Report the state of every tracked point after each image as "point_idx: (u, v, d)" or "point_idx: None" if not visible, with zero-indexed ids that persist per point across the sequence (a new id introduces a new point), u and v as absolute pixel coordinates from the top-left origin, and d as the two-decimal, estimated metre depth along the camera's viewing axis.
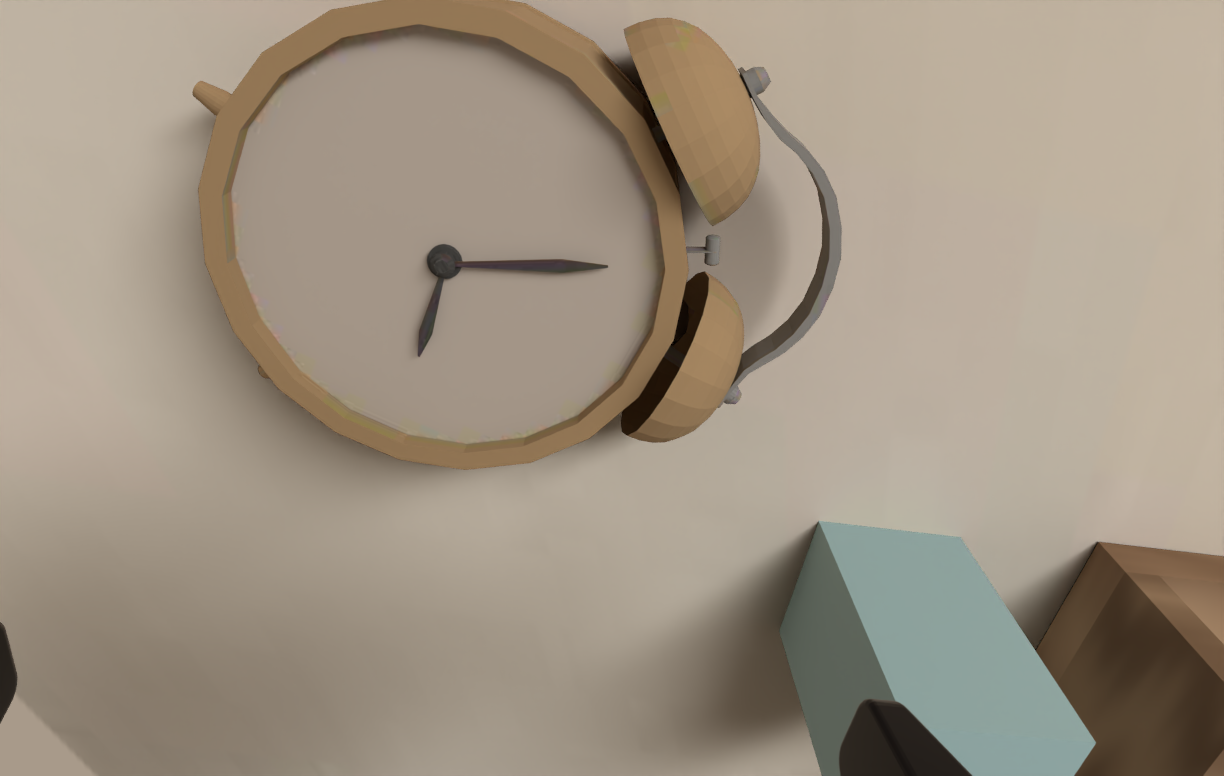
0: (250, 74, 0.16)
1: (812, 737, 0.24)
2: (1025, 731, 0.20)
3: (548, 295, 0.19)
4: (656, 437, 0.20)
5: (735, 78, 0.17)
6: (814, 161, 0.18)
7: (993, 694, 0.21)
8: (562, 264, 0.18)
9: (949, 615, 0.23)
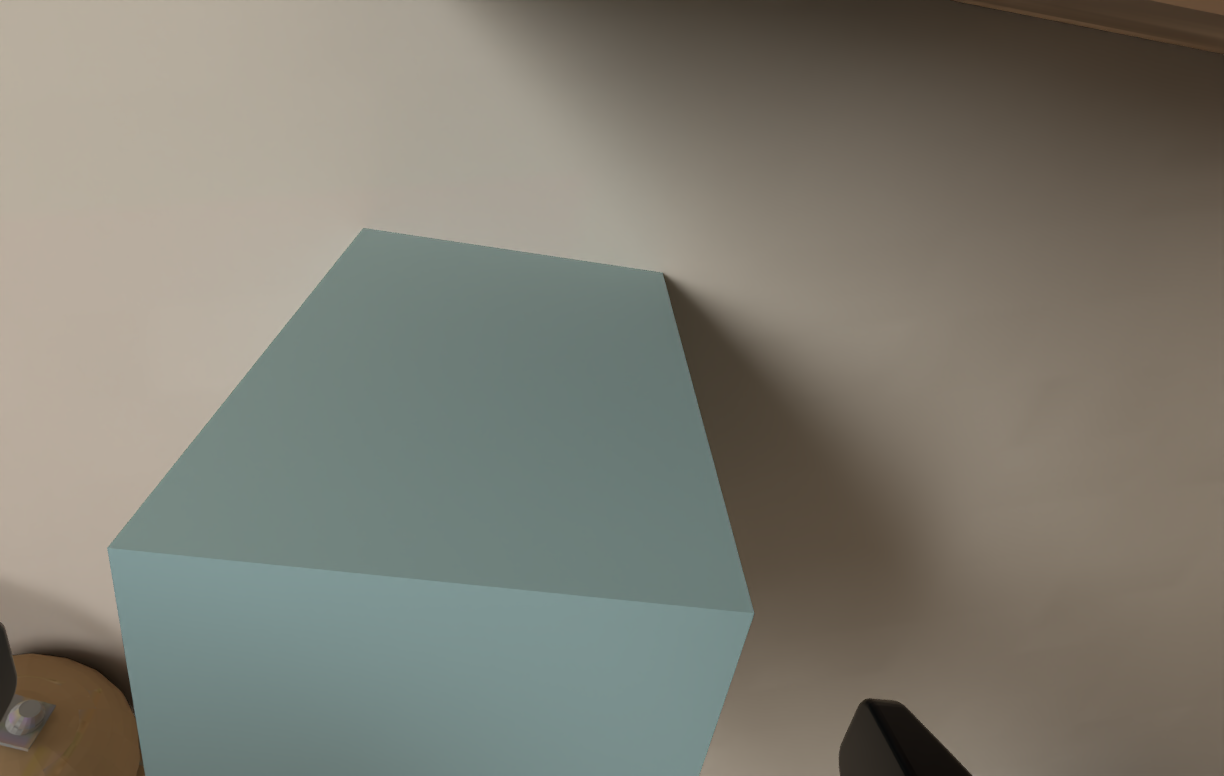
0: None
1: None
2: (144, 694, 0.07)
3: None
4: None
5: None
6: None
7: None
8: None
9: None
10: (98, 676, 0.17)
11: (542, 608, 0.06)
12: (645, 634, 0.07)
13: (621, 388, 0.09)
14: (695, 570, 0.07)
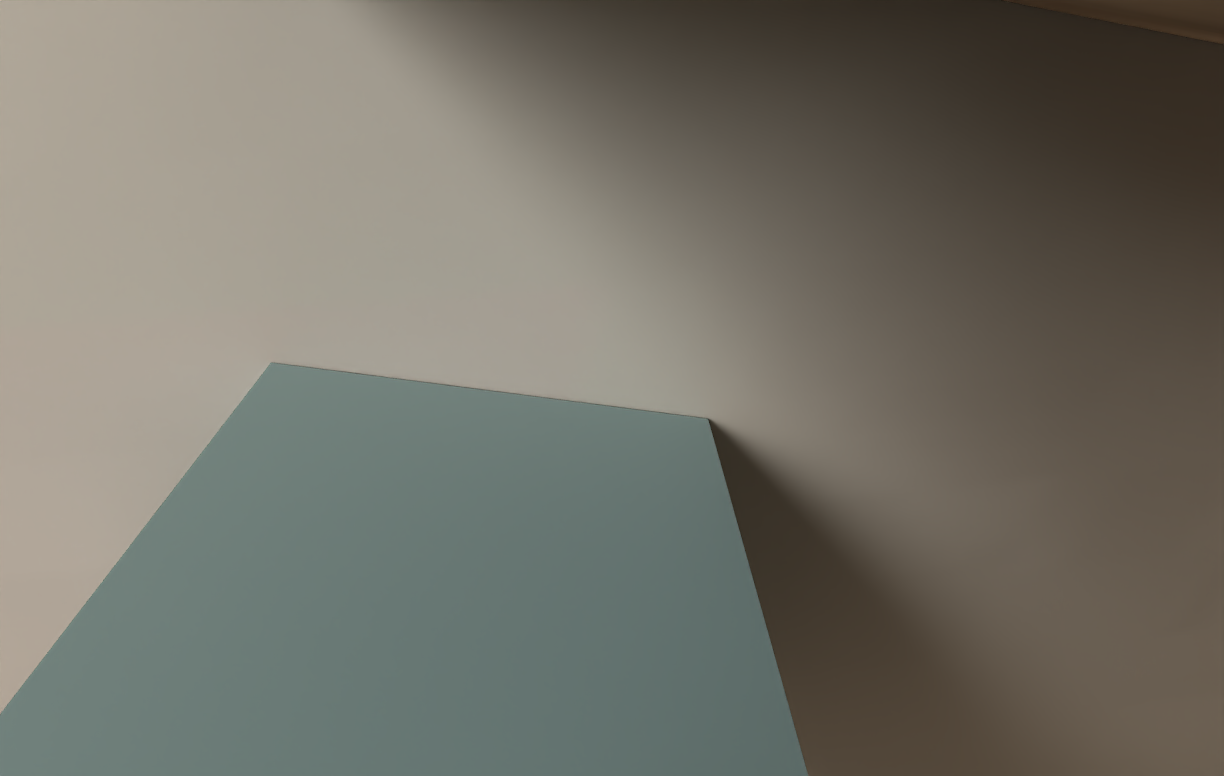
0: None
1: None
2: None
3: None
4: None
5: None
6: None
7: None
8: None
9: None
10: None
11: None
12: None
13: (666, 734, 0.05)
14: None
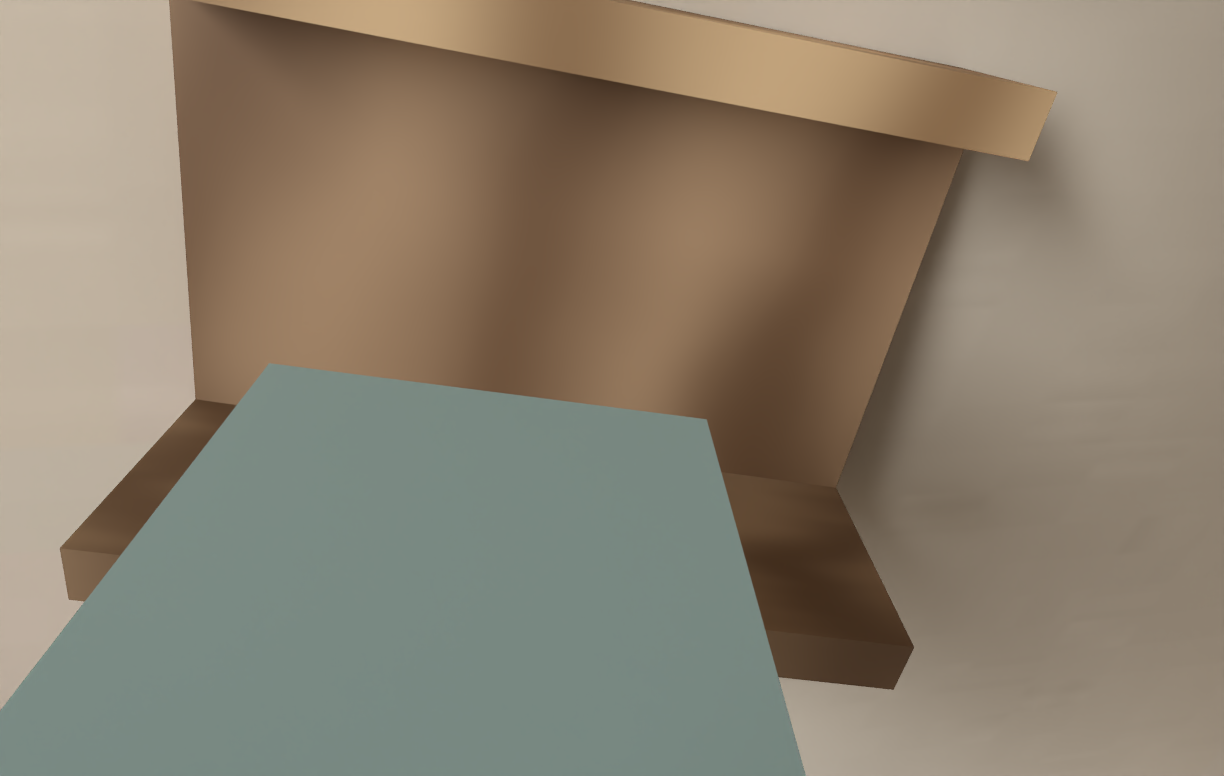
0: None
1: None
2: None
3: None
4: None
5: None
6: None
7: None
8: None
9: None
10: None
11: None
12: None
13: (665, 735, 0.05)
14: None
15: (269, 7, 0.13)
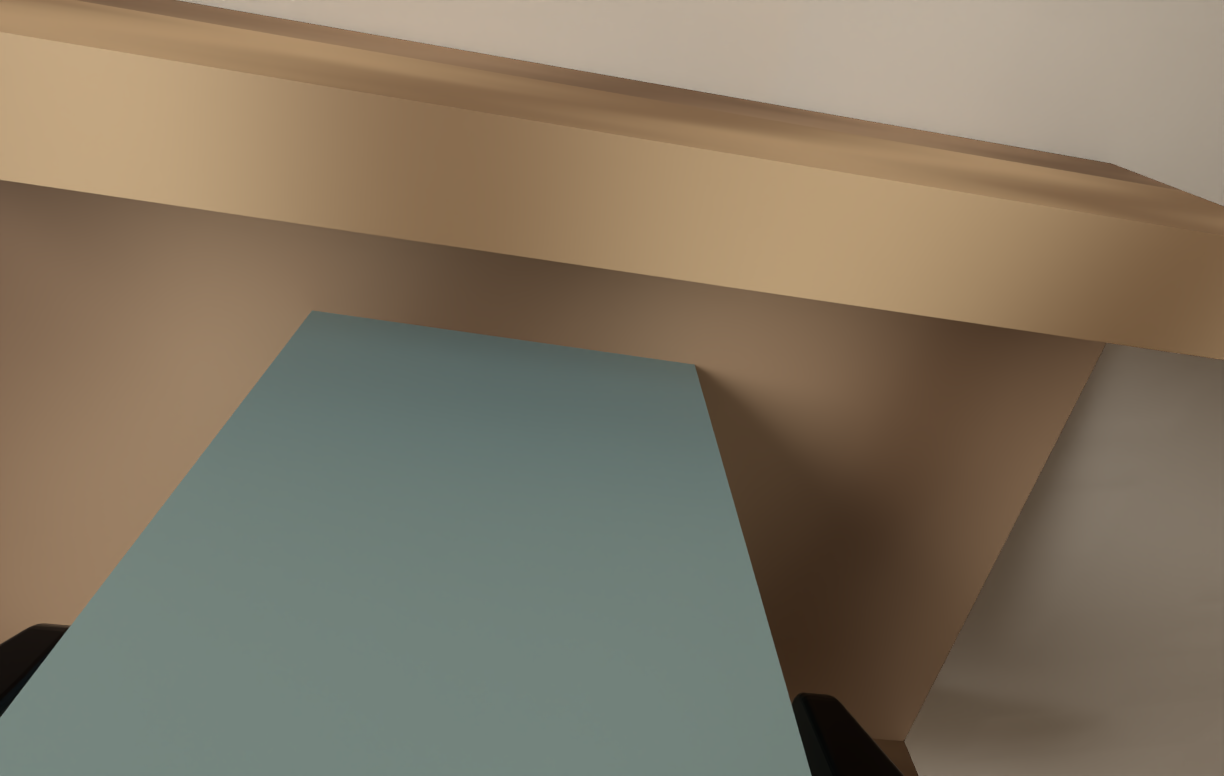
0: None
1: None
2: None
3: None
4: None
5: None
6: None
7: None
8: None
9: None
10: None
11: None
12: None
13: (652, 586, 0.07)
14: None
15: None
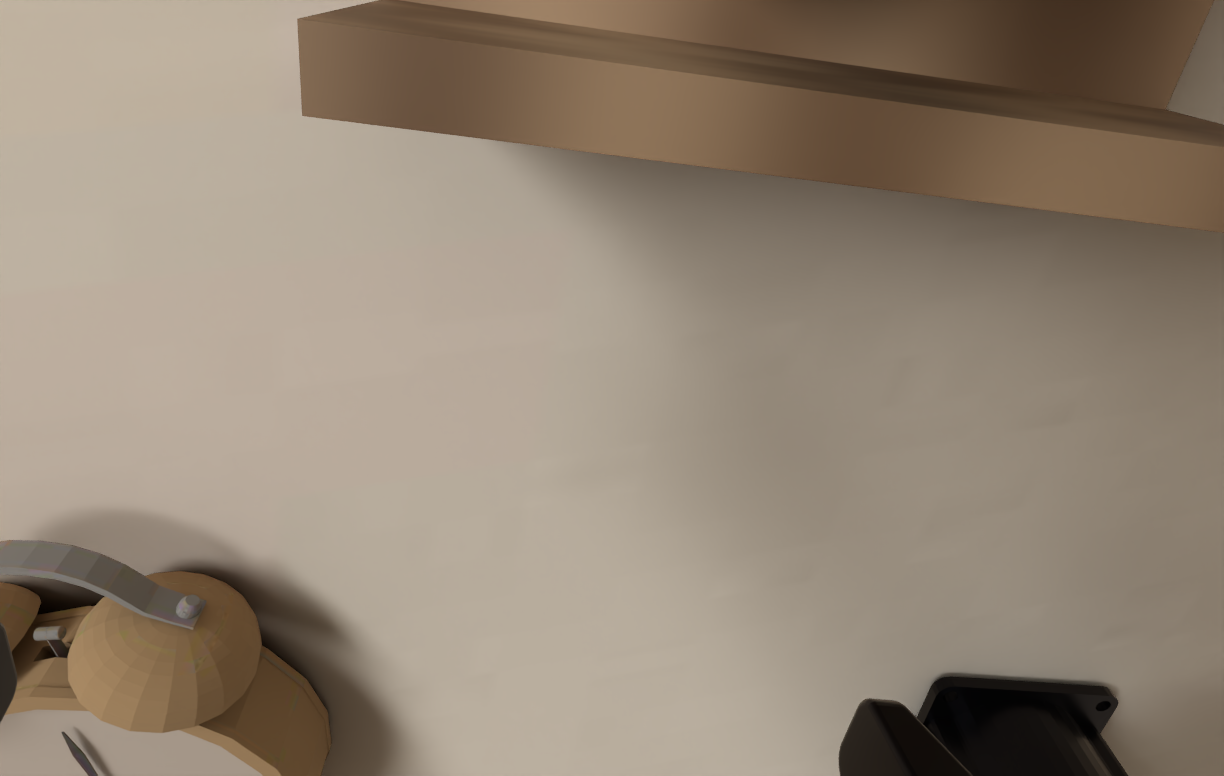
0: None
1: None
2: None
3: (117, 752, 0.23)
4: (198, 711, 0.21)
5: None
6: None
7: None
8: (75, 755, 0.22)
9: None
10: (228, 586, 0.23)
11: None
12: None
13: None
14: None
15: None
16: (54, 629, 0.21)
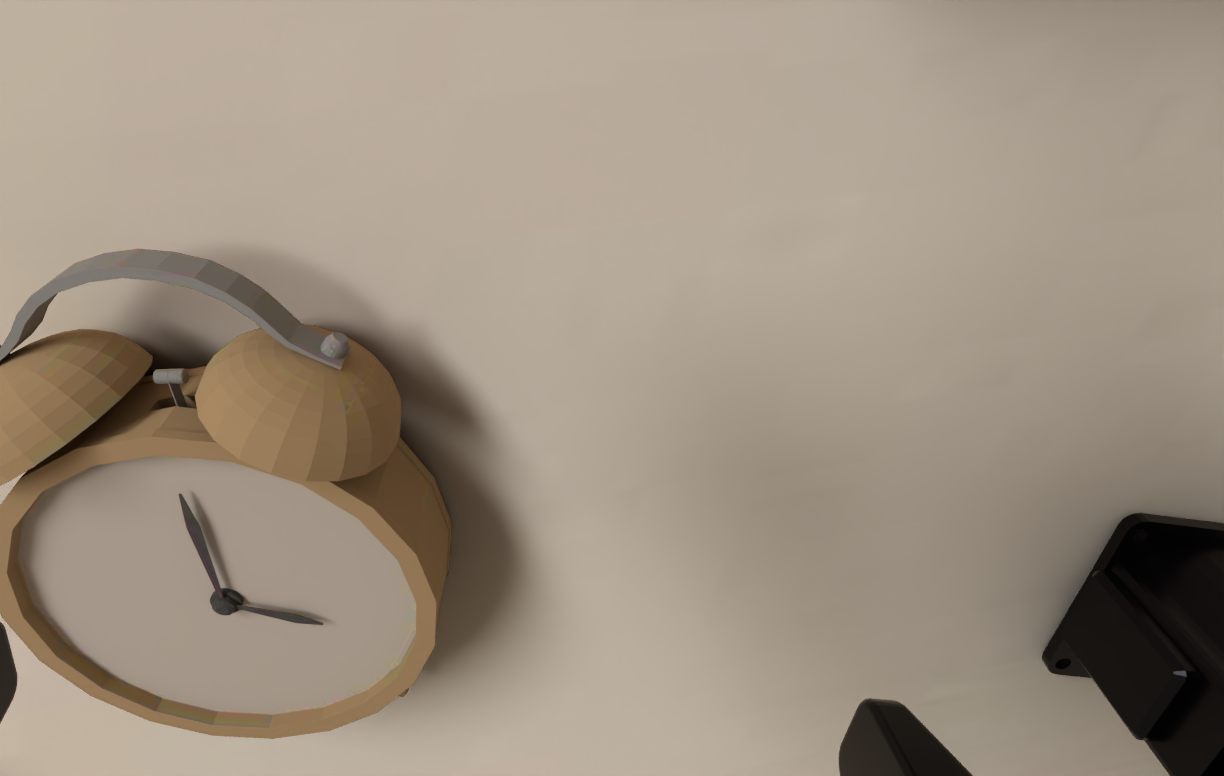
0: (109, 702, 0.23)
1: None
2: None
3: (235, 530, 0.20)
4: (346, 460, 0.18)
5: None
6: (24, 307, 0.17)
7: None
8: (190, 528, 0.19)
9: None
10: None
11: None
12: None
13: None
14: None
15: None
16: (177, 370, 0.18)
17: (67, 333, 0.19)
